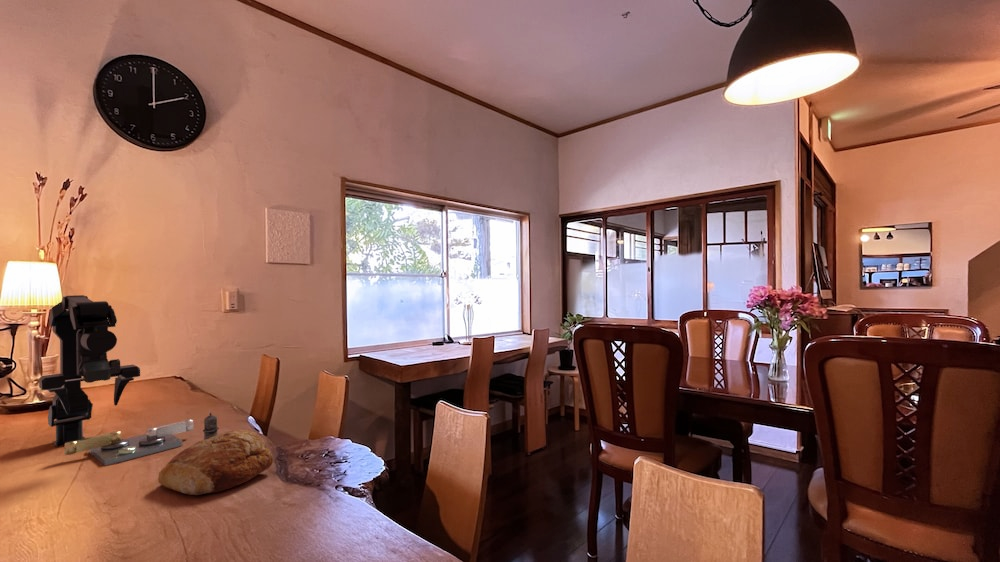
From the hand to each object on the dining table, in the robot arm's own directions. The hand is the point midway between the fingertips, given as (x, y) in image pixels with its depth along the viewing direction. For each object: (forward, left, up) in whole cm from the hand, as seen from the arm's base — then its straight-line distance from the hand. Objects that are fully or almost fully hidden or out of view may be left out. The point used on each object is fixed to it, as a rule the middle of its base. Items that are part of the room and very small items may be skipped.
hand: (92, 409), depth 114 cm
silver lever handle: (-2, +13, -13) cm, 18 cm away
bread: (+35, +15, -15) cm, 41 cm away
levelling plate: (-4, +10, -14) cm, 18 cm away
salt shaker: (+20, +20, -15) cm, 32 cm away
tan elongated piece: (-7, +6, -13) cm, 16 cm away
